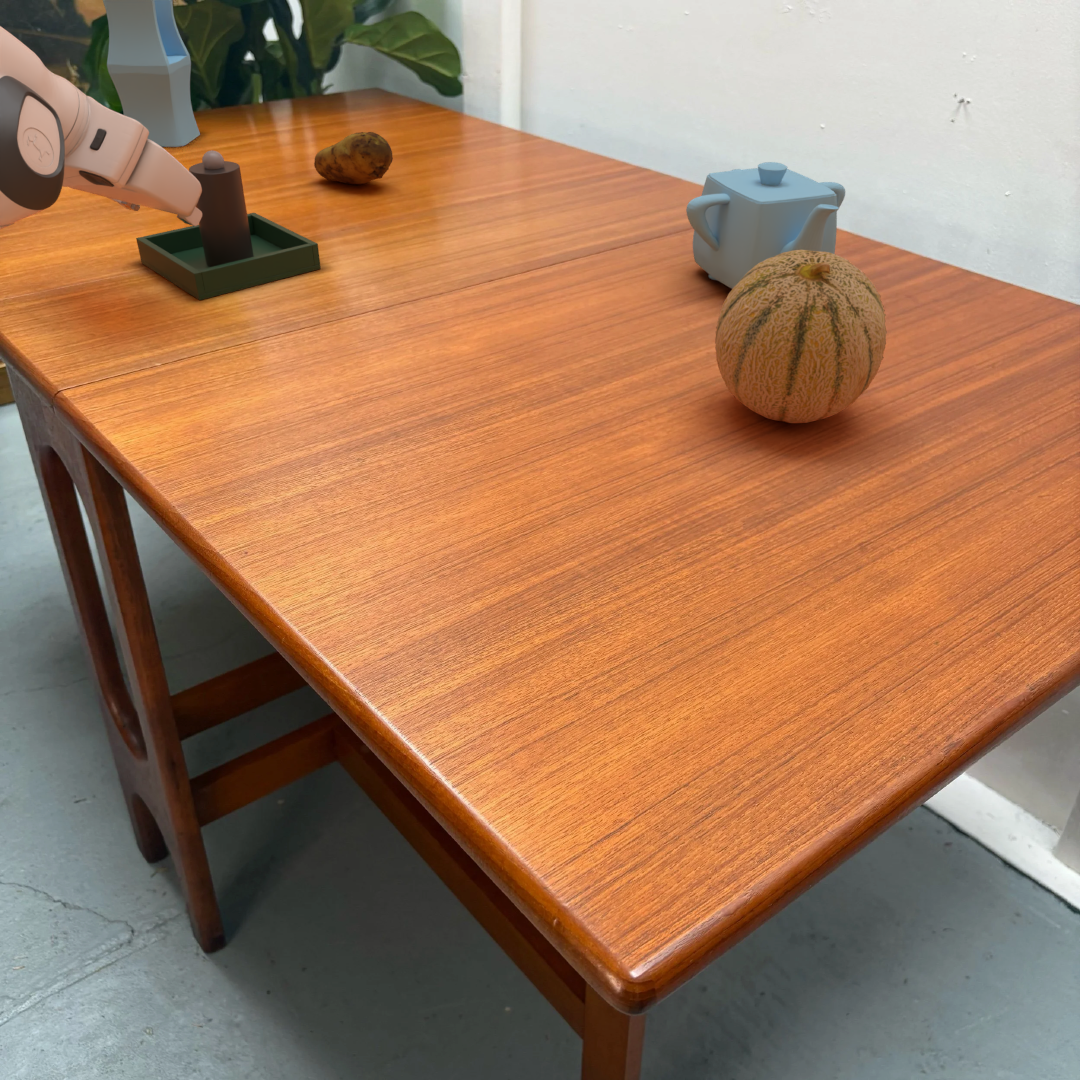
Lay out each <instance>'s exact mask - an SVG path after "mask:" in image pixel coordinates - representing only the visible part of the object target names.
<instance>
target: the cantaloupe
mask: <svg viewBox="0 0 1080 1080" xmlns="http://www.w3.org/2000/svg"><path fill="white" fill-rule="evenodd" d="M881 298H882V295H881V294H880V293H879V291H878V290H877V288H876V286H875V284H874V283H873V282H872V280H871V279H870V278H869V277H868V276H867V275H866V273H864V271H862V270H861V269H860V268H859V267H857V266H855V265H854V264H853V263H852V262H851V261H850V260H849V259H848V258H847V259H846V258H845V257H842V256H841V255H838V254H832V253H829V252H820V251H810V250H793V251H788V252H784V253H781V254H779V255H776V256H774V257H771V258H768V259H766V260H765V261H762V262H760V263H758V264H757V265H755V266H754V267H753V268H752V269H751V270H750V271H748V272H747V273H746V275H745V276H744V277H743V278H742V279H741V280H740V281H739V282H738V283H737V285H736V286H735V287H734V288H733V289H731V290H730V291H729V293H728V294H727V297H726V298H725V299H724V301H723V303H722V306H721V309H720V311H719V314H718V318H717V322H716V327H715V329H716V330H715V338H714V344H715V346H714V347H715V348H714V349H715V358H716V364H717V367H718V371H719V373H720V375H721V378H722V380H723V382H724V385H725V386H726V387H727V389H728V391H729V392H730V394H731V395H733V397H735V399H736V400H737V401H739V402H740V403H741V404H743V405H744V407H746V408H748V409H749V410H751V411H752V412H754V413H755V414H758V415H759V416H762V417H764V418H766V419H768V420H773V421H776V422H777V421H779V422H785V423H788V424H807V423H811V422H815V421H819V420H824V419H826V418H830V417H833V416H835V415H837V414H839V413H840V412H843V411H844V410H845V409H847V408H849V407H850V406H851V405H852V404H853V403H855V402H856V401H857V399H859V397H861V396H862V395H863V394H864V392H865V391H867V389H868V388H869V387H870V385H871V383H872V382H873V380H874V379H875V377H876V376H877V374H878V371H879V369H880V367H881V364H882V362H883V360H884V358H885V357H884V353H885V350H886V345H887V334H888V333H887V327H886V326H887V325H886V313H885V311H886V310H885V309H884V304H883V301H882V299H881Z"/></svg>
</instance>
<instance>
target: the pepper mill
mask: <svg viewBox="0 0 1080 1080" xmlns="http://www.w3.org/2000/svg"><path fill="white" fill-rule="evenodd" d="M201 160H202V161H201V162H199V163H196V164H192V165H191V166H190V167H189V168H188V171H189V172H190V173H191V174H192V175H193V176H195V177H196V179H197V180H198V181H199V182H200V184H201V188H202V193H201V196H200V198H199V200H198V203H197V205H196V207H197V208H198V209H199V210H200V211H201V212H202V218H201V220H200V222H199V224H198V225H199V227H200V233H201V238H202V243H203V249H204V254H205V260H206V264H207V265H208V266H209V267H214V266H218V265H222V264H226V263H230V262H234V261H238V260H242V259H247V258H251V257H254V255H253V248H252V242H251V236H250V229H249V223H248V217H247V214H248V210H247V205H246V204H247V203H246V198H245V192H244V186H243V179H242V173H241V167H240V164H239V163H237V162H234V161H230V160H229V161H228V160H225V159H224V157H223V155H222V154H221V153H220V152H219V151H217V150H212V149H211V150H208V151H206V152H205V153H204V154H203V156H202V159H201Z"/></svg>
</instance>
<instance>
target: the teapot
mask: <svg viewBox="0 0 1080 1080" xmlns="http://www.w3.org/2000/svg"><path fill="white" fill-rule="evenodd" d="M845 196H846V188H845V186H844V185H843V184H841V183H839V182H835V181H821V182H820V181H819V182H818V181H816V180H815V179H812V178H810V177H808V176H805V175H803V174H802V173H798V172H796V171H794V170H791V169H788V166H787V165H785V164H784V163H781V162H775V161H767V162H762V163H761V162H760V163H759V164H757V167H754V168H743V169H740V168H735V169H734V168H733V169H731V170H727V171H717V172H710V173H708V174H707V175H706V178H705V182H704V184H703V189H702V193H701V195H700V196H696V197H694V198H692V199H691V200H690V201H689V202H688V203H687V205H686V209H685V210H686V211H685V212H686V216H687V220H688V222H689V224H690V226H691V228H692V229H693V235H692V236H693V237H692V255H693V259H694V262H695V264H697V265H698V266H699V267H700V268H701V269H702V270H703V271H705V273H707V274H708V278H709V279H711V280H713V281H717V282H719V283H721V284H723V285H725V286H726V287H728V288H729V289H731V290H732V289H733V288H734V287H735V286H736V285H737V283H738V282H739V281H740V280H741V279H742V278H743V277H744V276H745V275H746V273H747V272H748V271H750V270H751V269H752V268H753V267H754V266H755V265H757V264H758V263H760V262H762V261H765V260H766V259H768V258H771V257H774V256H776V255H779V254H781V253H784V252H788V251H793V250H810V251H820V252H829V253H832V254H835V253H836V245H837V230H838V229H837V226H838V225H837V224H838V211H839V209H840V207H841V205H843V202H844V200H845ZM835 255H836V254H835Z"/></svg>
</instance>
